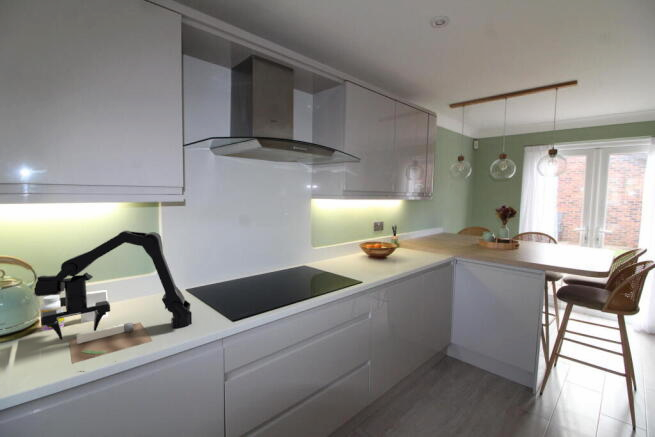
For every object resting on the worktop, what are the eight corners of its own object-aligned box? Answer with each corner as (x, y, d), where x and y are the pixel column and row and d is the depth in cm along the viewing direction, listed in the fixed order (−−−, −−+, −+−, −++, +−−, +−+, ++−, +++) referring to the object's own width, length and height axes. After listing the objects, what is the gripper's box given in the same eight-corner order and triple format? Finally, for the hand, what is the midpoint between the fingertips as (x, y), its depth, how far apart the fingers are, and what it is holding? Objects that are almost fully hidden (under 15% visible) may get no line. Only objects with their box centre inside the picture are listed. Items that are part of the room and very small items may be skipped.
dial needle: (132, 328, 117) (132, 321, 117) (134, 331, 115) (133, 323, 114) (77, 342, 106) (76, 334, 105) (77, 345, 103) (77, 337, 103)
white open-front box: (80, 326, 121) (78, 297, 120) (82, 318, 128) (81, 291, 127) (107, 321, 126) (106, 293, 125) (108, 314, 133) (107, 287, 132)
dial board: (140, 325, 123) (140, 321, 122) (153, 344, 108) (152, 340, 108) (69, 343, 108) (68, 338, 108) (72, 368, 93) (72, 363, 93)
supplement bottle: (39, 329, 118) (37, 297, 117) (61, 323, 124) (59, 292, 123) (44, 334, 114) (42, 300, 113) (67, 327, 120) (65, 296, 119)
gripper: (105, 282, 120) (107, 320, 121) (40, 292, 107) (43, 335, 108) (109, 289, 111) (111, 330, 113) (39, 301, 99) (42, 347, 100)
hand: (78, 335), depth 109 cm, fingers open, 9 cm apart
